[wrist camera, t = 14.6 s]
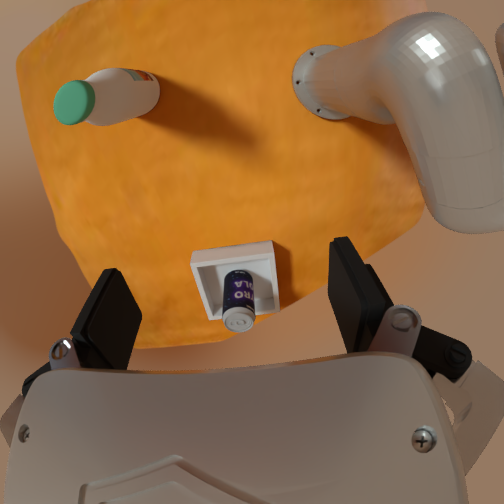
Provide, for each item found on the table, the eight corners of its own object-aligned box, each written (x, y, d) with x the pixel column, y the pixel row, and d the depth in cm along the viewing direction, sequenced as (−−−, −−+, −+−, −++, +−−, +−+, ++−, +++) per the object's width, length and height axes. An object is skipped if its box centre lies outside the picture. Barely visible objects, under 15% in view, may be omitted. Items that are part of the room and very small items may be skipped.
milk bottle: (170, 93, 35) (117, 99, 19) (136, 125, 38) (69, 156, 21) (142, 61, 32) (74, 50, 15) (109, 94, 34) (31, 109, 17)
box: (271, 240, 51) (274, 252, 47) (278, 298, 59) (280, 311, 56) (193, 251, 51) (189, 263, 48) (210, 306, 60) (209, 320, 56)
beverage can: (253, 287, 56) (257, 332, 46) (226, 290, 56) (224, 335, 46) (251, 265, 53) (254, 310, 43) (222, 268, 53) (219, 313, 43)
